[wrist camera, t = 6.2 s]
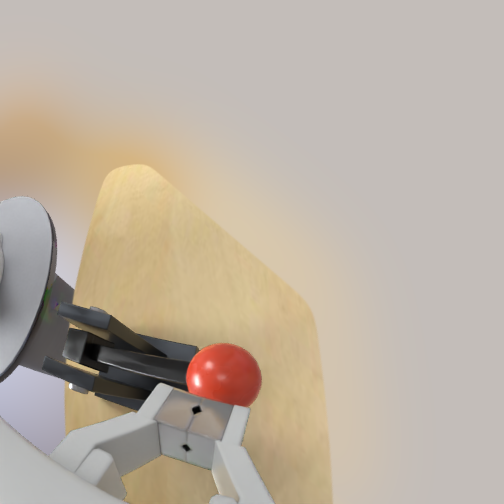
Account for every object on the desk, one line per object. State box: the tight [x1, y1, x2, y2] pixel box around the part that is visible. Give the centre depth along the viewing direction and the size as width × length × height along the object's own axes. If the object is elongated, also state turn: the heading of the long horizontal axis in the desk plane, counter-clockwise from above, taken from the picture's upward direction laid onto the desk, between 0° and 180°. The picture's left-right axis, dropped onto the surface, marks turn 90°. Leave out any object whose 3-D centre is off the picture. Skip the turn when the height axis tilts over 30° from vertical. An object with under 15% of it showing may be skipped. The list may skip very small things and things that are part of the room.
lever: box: [62, 328, 262, 408], centre depth 14 cm, size 14×3×3 cm, turn 82°
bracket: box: [42, 301, 199, 411], centre depth 21 cm, size 10×8×14 cm
